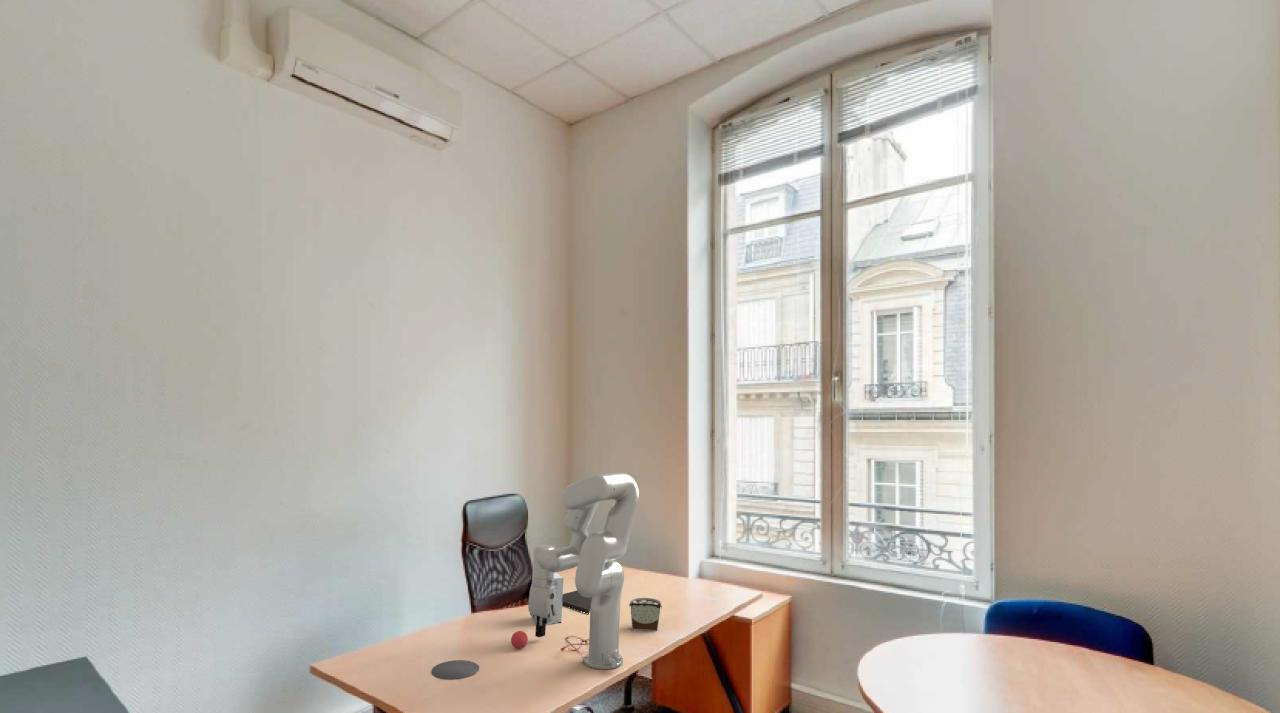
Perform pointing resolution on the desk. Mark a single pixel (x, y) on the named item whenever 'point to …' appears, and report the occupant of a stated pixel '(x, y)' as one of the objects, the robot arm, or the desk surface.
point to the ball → (519, 639)
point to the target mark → (455, 669)
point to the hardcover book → (577, 601)
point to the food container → (645, 613)
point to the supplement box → (557, 598)
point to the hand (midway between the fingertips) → (540, 635)
